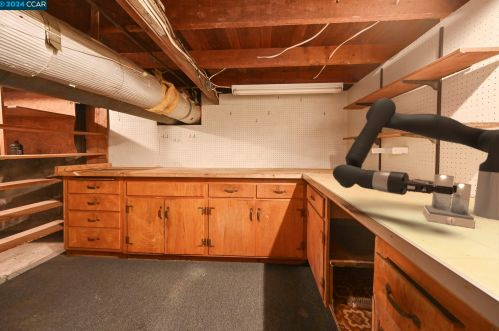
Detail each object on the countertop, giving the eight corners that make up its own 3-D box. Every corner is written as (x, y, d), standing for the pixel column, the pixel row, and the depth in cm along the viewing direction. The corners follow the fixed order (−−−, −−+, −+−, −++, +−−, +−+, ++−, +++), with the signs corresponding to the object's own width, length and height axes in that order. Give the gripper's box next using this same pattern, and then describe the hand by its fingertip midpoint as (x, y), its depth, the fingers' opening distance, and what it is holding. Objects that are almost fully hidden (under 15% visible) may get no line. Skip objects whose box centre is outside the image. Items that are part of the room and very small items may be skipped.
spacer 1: (430, 205, 74) (433, 174, 73) (448, 208, 72) (451, 175, 71) (432, 209, 70) (436, 175, 69) (451, 211, 68) (455, 177, 67)
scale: (423, 213, 91) (423, 204, 91) (464, 219, 85) (465, 210, 85) (427, 221, 80) (428, 211, 80) (475, 229, 74) (476, 218, 74)
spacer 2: (449, 210, 83) (452, 182, 82) (465, 212, 81) (469, 183, 80) (452, 213, 80) (455, 183, 79) (469, 215, 77) (473, 185, 76)
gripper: (382, 172, 76) (450, 179, 63) (398, 170, 86) (461, 175, 72) (380, 195, 77) (448, 206, 64) (396, 190, 86) (458, 199, 73)
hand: (454, 190), depth 68 cm, fingers closed on spacer 1, 4 cm apart
